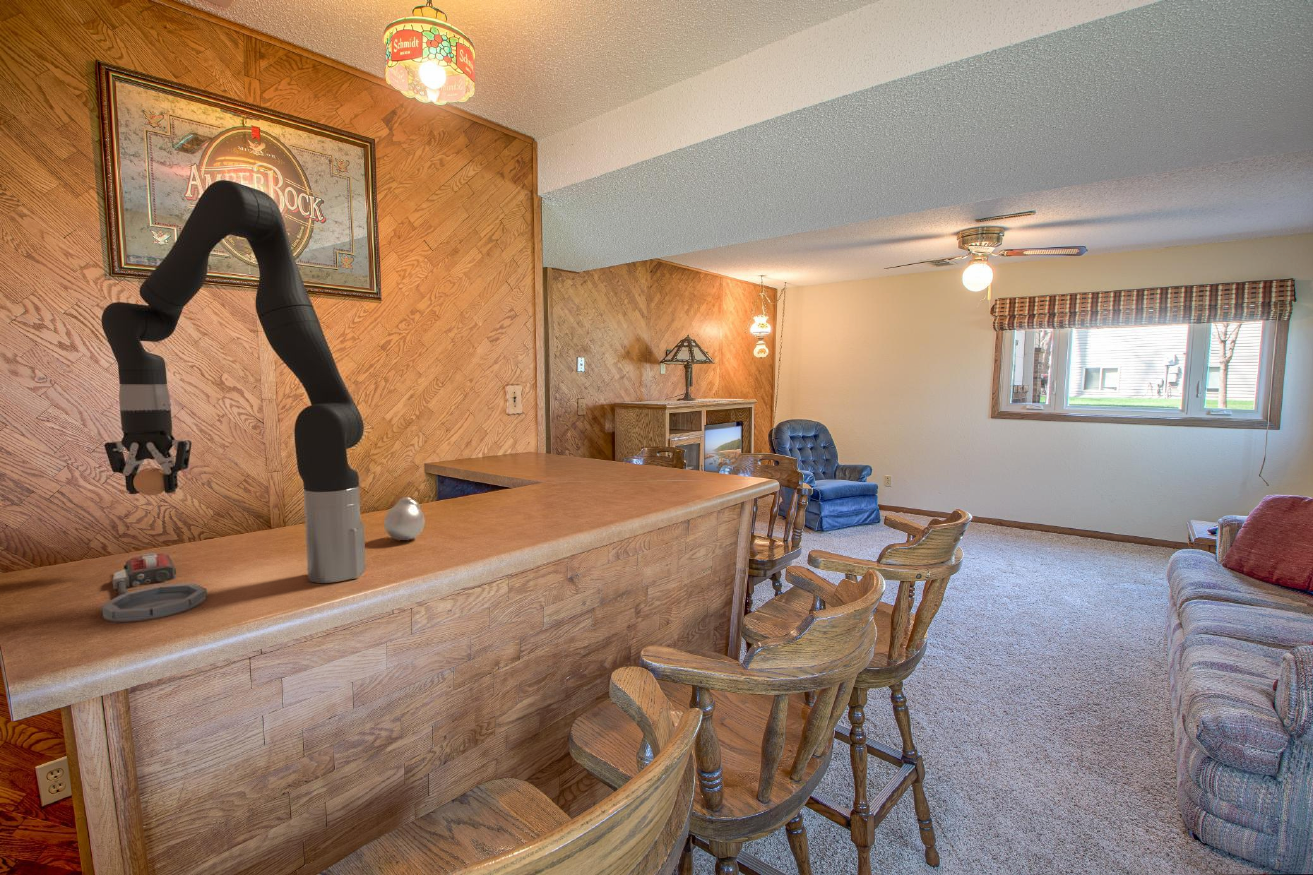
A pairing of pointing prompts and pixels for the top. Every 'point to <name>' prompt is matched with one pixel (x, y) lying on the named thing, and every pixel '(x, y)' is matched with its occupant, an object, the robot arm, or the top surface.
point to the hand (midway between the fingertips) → (152, 492)
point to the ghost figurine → (404, 520)
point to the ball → (149, 481)
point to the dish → (154, 602)
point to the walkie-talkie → (144, 571)
